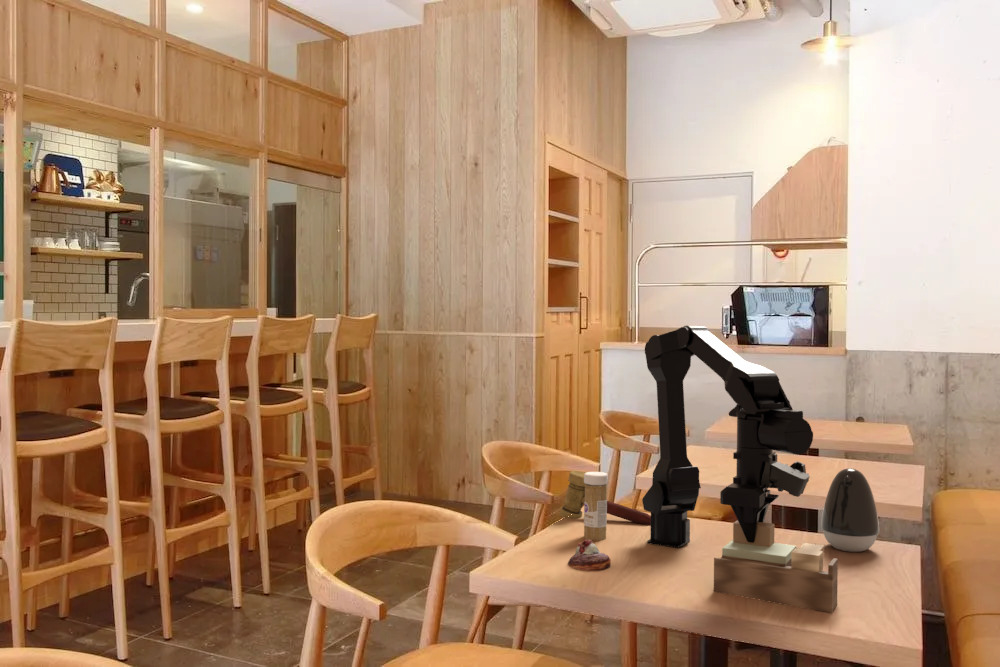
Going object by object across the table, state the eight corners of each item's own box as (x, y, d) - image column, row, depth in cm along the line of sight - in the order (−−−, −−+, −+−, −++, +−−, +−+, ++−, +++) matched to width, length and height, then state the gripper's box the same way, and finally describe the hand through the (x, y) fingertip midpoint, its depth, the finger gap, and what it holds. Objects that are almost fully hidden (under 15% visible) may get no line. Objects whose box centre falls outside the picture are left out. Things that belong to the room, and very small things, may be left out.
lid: (722, 555, 143) (722, 528, 142) (735, 544, 149) (735, 518, 149) (785, 564, 138) (785, 536, 137) (796, 552, 144) (796, 526, 144)
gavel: (656, 544, 184) (668, 499, 183) (652, 550, 180) (665, 504, 179) (562, 512, 191) (573, 469, 189) (556, 517, 186) (567, 472, 185)
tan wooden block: (791, 570, 133) (791, 552, 133) (800, 560, 139) (800, 542, 139) (818, 574, 131) (819, 555, 131) (827, 563, 137) (827, 545, 137)
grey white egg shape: (817, 551, 164) (818, 470, 164) (824, 539, 174) (825, 462, 173) (876, 558, 160) (877, 475, 159) (881, 545, 169) (882, 466, 169)
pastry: (579, 561, 157) (579, 533, 157) (618, 567, 154) (618, 539, 154) (559, 572, 151) (559, 543, 151) (599, 579, 147) (600, 549, 147)
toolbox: (713, 593, 139) (714, 549, 139) (735, 573, 149) (735, 532, 149) (832, 612, 130) (832, 565, 130) (845, 590, 141) (846, 547, 140)
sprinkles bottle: (578, 541, 171) (579, 472, 171) (596, 538, 173) (597, 470, 173) (593, 546, 167) (594, 475, 167) (612, 543, 169) (612, 473, 169)
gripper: (792, 457, 134) (791, 560, 134) (816, 443, 150) (815, 534, 150) (719, 451, 139) (718, 550, 140) (750, 438, 155) (749, 526, 156)
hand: (753, 540), depth 146 cm, fingers closed on lid, 3 cm apart
